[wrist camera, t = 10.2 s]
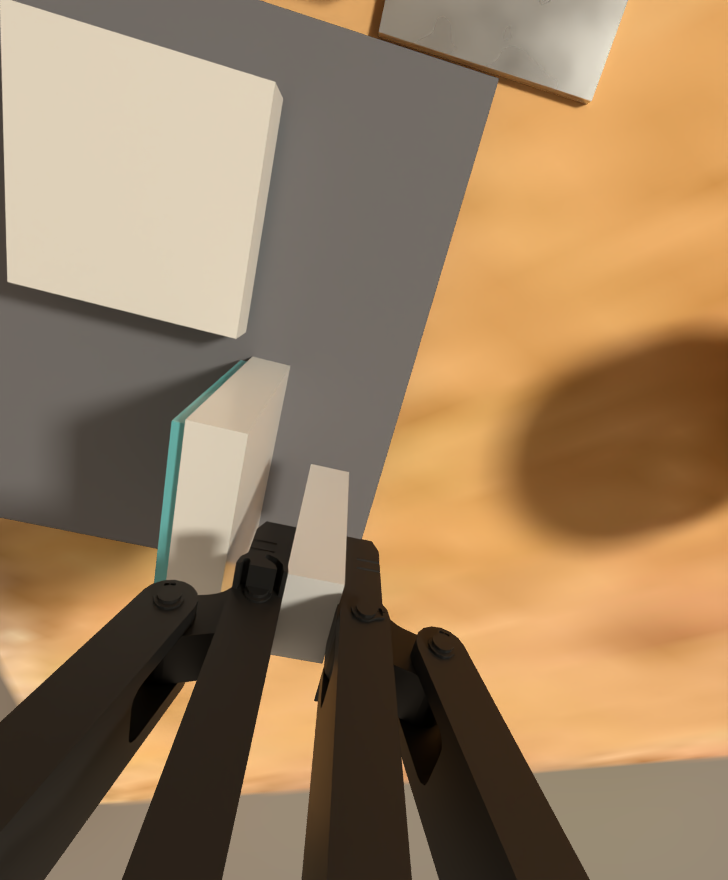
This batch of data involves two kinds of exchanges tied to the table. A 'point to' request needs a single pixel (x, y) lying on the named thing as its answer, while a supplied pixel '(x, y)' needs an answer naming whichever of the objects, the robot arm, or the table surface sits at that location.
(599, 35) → the turner
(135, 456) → the mat
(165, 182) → the tile
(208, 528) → the tile
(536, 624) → the table surface
